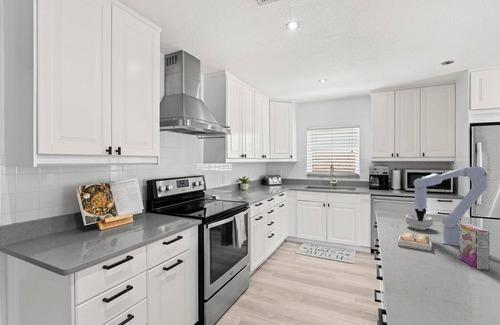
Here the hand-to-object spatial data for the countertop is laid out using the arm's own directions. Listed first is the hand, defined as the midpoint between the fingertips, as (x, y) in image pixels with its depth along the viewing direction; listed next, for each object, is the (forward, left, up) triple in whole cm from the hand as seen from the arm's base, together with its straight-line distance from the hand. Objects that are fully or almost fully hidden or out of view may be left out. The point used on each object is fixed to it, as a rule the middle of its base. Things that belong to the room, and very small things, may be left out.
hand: (420, 221), depth 144 cm
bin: (+3, +20, -9) cm, 22 cm away
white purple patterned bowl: (+1, -23, -10) cm, 25 cm away
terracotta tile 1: (-1, +17, -9) cm, 19 cm away
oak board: (+3, +9, -9) cm, 13 cm away
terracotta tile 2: (+5, +18, -9) cm, 20 cm away
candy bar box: (-19, +34, -10) cm, 40 cm away
